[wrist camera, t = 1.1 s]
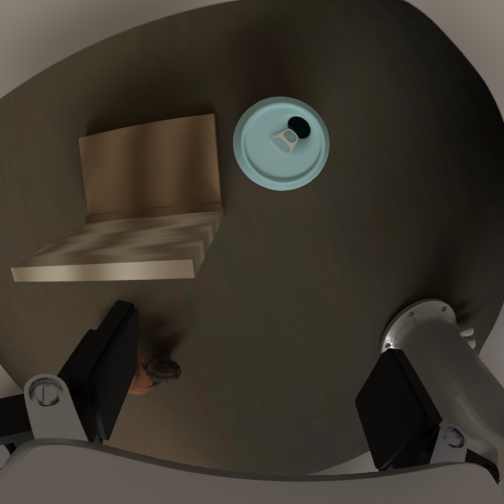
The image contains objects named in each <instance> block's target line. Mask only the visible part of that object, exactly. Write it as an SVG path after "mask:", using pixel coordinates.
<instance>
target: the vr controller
mask: <svg viewBox="0 0 504 504" xmlns="http://www.w3.org/2000/svg"><path fill="white" fill-rule="evenodd" d="M144 362H145V359H144V358H143V356H142V355H141V353H140V352H139V350H138V365H137V370H136V373H135V376H134V378H133V380H132V383H131V385H130V388H129V390H128V393H132V394H144V393H148V392H150V391H152V390H153V389H155V388H156V387H157V386H158V385H159V384H160V383H163V382H173V381H176V380H178V379H179V377H180V374H181V370H180V366H179V365H178V364H177V363H176V362H174V361H172V360H171V359H170V357H169V356H168V355H167V354H166V353H165V354H164V355H163V356H161V357H159V358H157V359H152V360H151V361H150V362H149V363H148V364H147V365H146V369H145V368H144V367H143V365H142V364H143V363H144Z"/></svg>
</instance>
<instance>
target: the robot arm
mask: <svg viewBox="0 0 504 504" xmlns="http://www.w3.org/2000/svg"><path fill="white" fill-rule="evenodd" d="M472 334H473V327H472V326H469V327H465V328H462V329H461V328H460V327H459V326H458V325H457V323H456V316H455V313H454V311H453V309H452V308H451V307H450V306H449V305H448V304H447V303H446V302H444V301H443V300H440V299H435V298H429V299H423V300H420V301H417V302H415V303H413V304H411V305H409V306H407V307H406V308H405V309H403V310H402V311H401V312H400V313H398V314H397V315H396V316H395V317H394V318H393V320H392V321H391V322H390V323H389V325H388V326H387V328H386V330H385V332H384V334H383V336H382V340H381V344H380V352H381V356H380V358H379V359H378V361H377V363H376V365H375V367H374V368H373V370H372V372H371V374H370V375H369V377H368V379H367V380H366V382H365V384H364V385H363V387H362V389H361V390H360V392H359V394H358V395H357V397H356V401H355V404H356V408H357V411H358V414H359V417H360V420H361V423H362V426H363V429H364V432H365V436H366V439H367V442H368V445H369V448H370V452H371V455H372V458H373V461H374V465H375V467H376V468H377V469H379V471H378V472H368V473H357V474H342V475H309V476H308V475H272V474H257V473H245V472H235V471H227V470H219V469H212V468H205V467H199V466H193V465H188V464H183V463H178V462H173V461H168V460H163V459H158V458H154V457H150V456H145V455H141V454H138V453H134V452H130V451H126V450H122V449H118V448H114V447H110V446H106V445H102V442H103V440H107V441H108V440H109V438H110V436H111V433H112V430H113V428H114V425H115V423H116V420H117V417H118V415H119V412H120V410H121V407H122V405H123V402H124V400H125V397H126V395H127V392H128V390H129V388H130V385H131V383H132V380H133V378H134V376H135V373H136V370H137V365H138V309H136V308H134V304H133V303H129V302H125V301H121V300H118V301H117V302H116V303H115V304H114V306H113V307H112V309H111V310H110V311H109V313H108V314H107V316H106V317H105V319H104V320H103V321H102V323H101V324H100V326H99V327H98V329H97V330H93V329H90V330H89V331H88V332H87V333H86V334H85V336H84V337H83V339H82V340H81V341H80V343H79V344H78V346H77V347H76V349H75V350H74V351H73V353H72V354H71V356H70V357H69V359H68V360H67V362H66V363H65V365H64V366H63V368H62V369H61V371H60V372H59V374H58V375H57V376H55V375H50V374H40V375H37V376H34V377H33V378H31V379H30V380H29V381H28V382H27V383H26V385H25V388H24V394H19V395H15V396H10V397H5V398H1V399H0V504H504V388H503V387H502V385H501V384H500V383H499V381H498V380H497V379H496V377H495V376H494V375H493V374H492V372H491V371H490V370H489V368H488V367H487V366H486V365H485V364H484V362H483V361H482V360H481V358H480V357H479V356H478V355H477V354H476V352H475V351H474V350H473V348H474V347H475V339H474V338H473V337H469V338H465V339H464V338H463V336H469V335H472Z"/></svg>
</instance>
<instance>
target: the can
mask: <svg viewBox="0 0 504 504" xmlns="http://www.w3.org/2000/svg"><path fill="white" fill-rule="evenodd" d="M233 149H234V154H235V157H236V160H237V162H238V164H239V166H240V168H241V169H242V171H243V172H244V173H245V174H246V175H247V176H248V177H249V178H250V179H251V180H252V181H254V182H255V183H257V184H259V185H261V186H263V187H266V188H268V189H273V190H291V189H296V188H299V187H301V186H303V185H305V184H307V183H309V182H310V181H311V180H313V179H314V178H315V177H316V176H317V175H318V174H319V173H320V171H321V170H322V168H323V167H324V165H325V163H326V160H327V157H328V153H329V135H328V131H327V128H326V126H325V124H324V122H323V120H322V119H321V117H320V116H319V114H318V113H317V112H316V111H315V110H314V109H313V108H311V107H310V106H309V105H307V104H306V103H304V102H302V101H300V100H297V99H294V98H289V97H271V98H267V99H264V100H261V101H259V102H257V103H256V104H254V105H252V106H251V107H250V108H249V109H248V110H246V112H245V113H244V114H243V115H242V116H241V118H240V120H239V121H238V123H237V125H236V128H235V132H234V137H233Z"/></svg>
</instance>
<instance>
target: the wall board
mask: <svg viewBox="0 0 504 504" xmlns="http://www.w3.org/2000/svg"><path fill="white" fill-rule="evenodd" d="M79 144H80V155H81V164H82V173H83V181H84V188H85V195H86V201H87V208H88V213H89V215H88V216H86V217H85V222H86V224H84V225H82V226H81V227H79V228H77V229H75V230H73V231H72V232H70V233H68V234H66V235H64V236H63V237H61V238H59V239H57V240H56V241H54V242H52V243H51V244H49V245H47V246H45V247H44V248H42V249H40V250H39V251H37V252H35V253H34V254H32V255H30V256H29V257H27V258H26V259H24V260H22V261H21V262H19V263H18V264H16V265H15V266H13V267H11V270H12V274H13V277H14V280H15V281H103V280H143V279H174V278H195V276H196V274H197V272H198V270H199V268H200V266H201V263H202V261H203V259H204V257H205V255H206V253H207V251H208V249H209V247H210V245H211V243H212V241H213V238H214V236H215V234H216V232H217V230H218V228H219V226H220V224H221V222H222V220H223V218H224V211H223V200H222V189H221V177H220V164H219V152H218V139H217V125H216V115H215V114H207V115H198V116H190V117H183V118H176V119H170V120H163V121H157V122H151V123H146V124H140V125H135V126H130V127H125V128H121V129H116V130H111V131H107V132H103V133H98V134H94V135H90V136H86V137H82V138H79Z"/></svg>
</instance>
